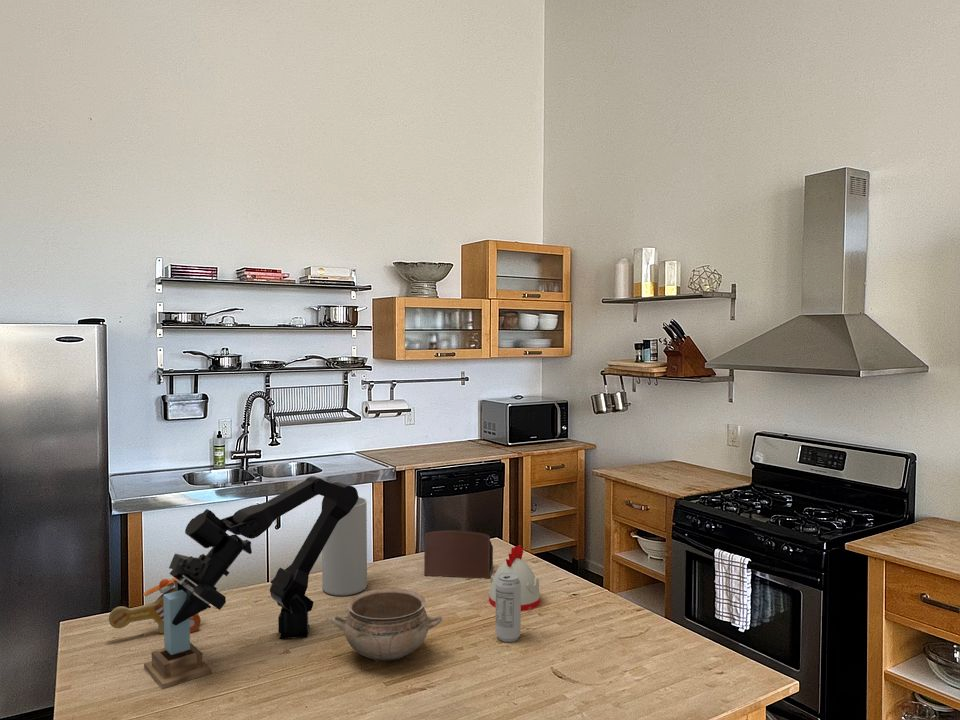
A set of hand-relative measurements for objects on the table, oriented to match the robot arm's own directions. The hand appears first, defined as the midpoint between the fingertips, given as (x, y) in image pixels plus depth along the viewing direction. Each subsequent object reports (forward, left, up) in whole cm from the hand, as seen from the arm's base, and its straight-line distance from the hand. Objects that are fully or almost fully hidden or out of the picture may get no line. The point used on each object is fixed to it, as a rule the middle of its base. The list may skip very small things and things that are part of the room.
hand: (170, 621), depth 154 cm
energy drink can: (-75, -6, -12) cm, 77 cm away
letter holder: (-69, -53, -12) cm, 88 cm away
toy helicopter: (+8, -21, -12) cm, 26 cm away
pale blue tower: (-1, -1, -7) cm, 7 cm away
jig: (-1, -1, -11) cm, 11 cm away
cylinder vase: (-35, -44, -12) cm, 58 cm away
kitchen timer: (-81, -28, -12) cm, 87 cm away
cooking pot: (-46, -1, -12) cm, 48 cm away
